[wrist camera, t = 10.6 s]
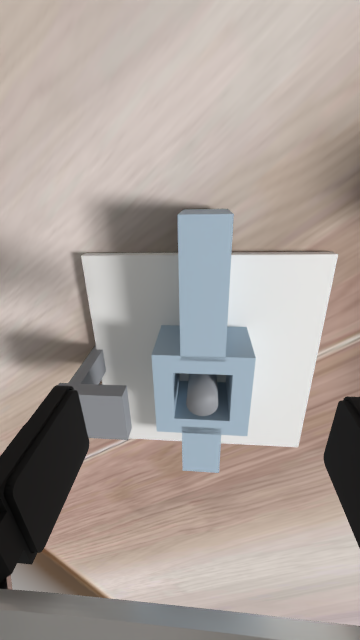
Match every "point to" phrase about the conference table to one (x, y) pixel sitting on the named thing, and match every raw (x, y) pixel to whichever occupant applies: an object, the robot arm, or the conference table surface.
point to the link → (203, 343)
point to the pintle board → (163, 309)
